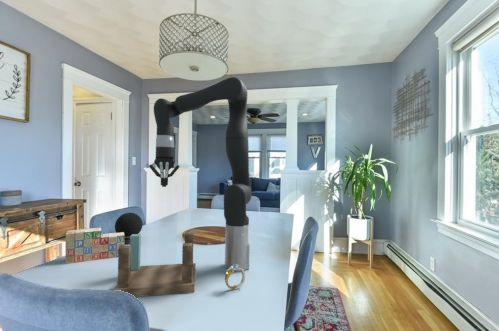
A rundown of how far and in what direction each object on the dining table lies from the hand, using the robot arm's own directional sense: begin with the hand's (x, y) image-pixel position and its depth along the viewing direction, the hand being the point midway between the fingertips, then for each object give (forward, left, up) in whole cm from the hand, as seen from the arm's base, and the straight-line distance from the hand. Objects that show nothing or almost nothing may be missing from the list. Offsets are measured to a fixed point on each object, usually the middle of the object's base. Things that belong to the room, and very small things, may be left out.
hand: (164, 186), depth 110 cm
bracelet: (-27, +32, -31) cm, 52 cm away
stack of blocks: (+28, -5, -31) cm, 42 cm away
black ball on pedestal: (+21, -28, -31) cm, 47 cm away
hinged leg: (+8, +16, -28) cm, 34 cm away
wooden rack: (-2, +23, -31) cm, 39 cm away
